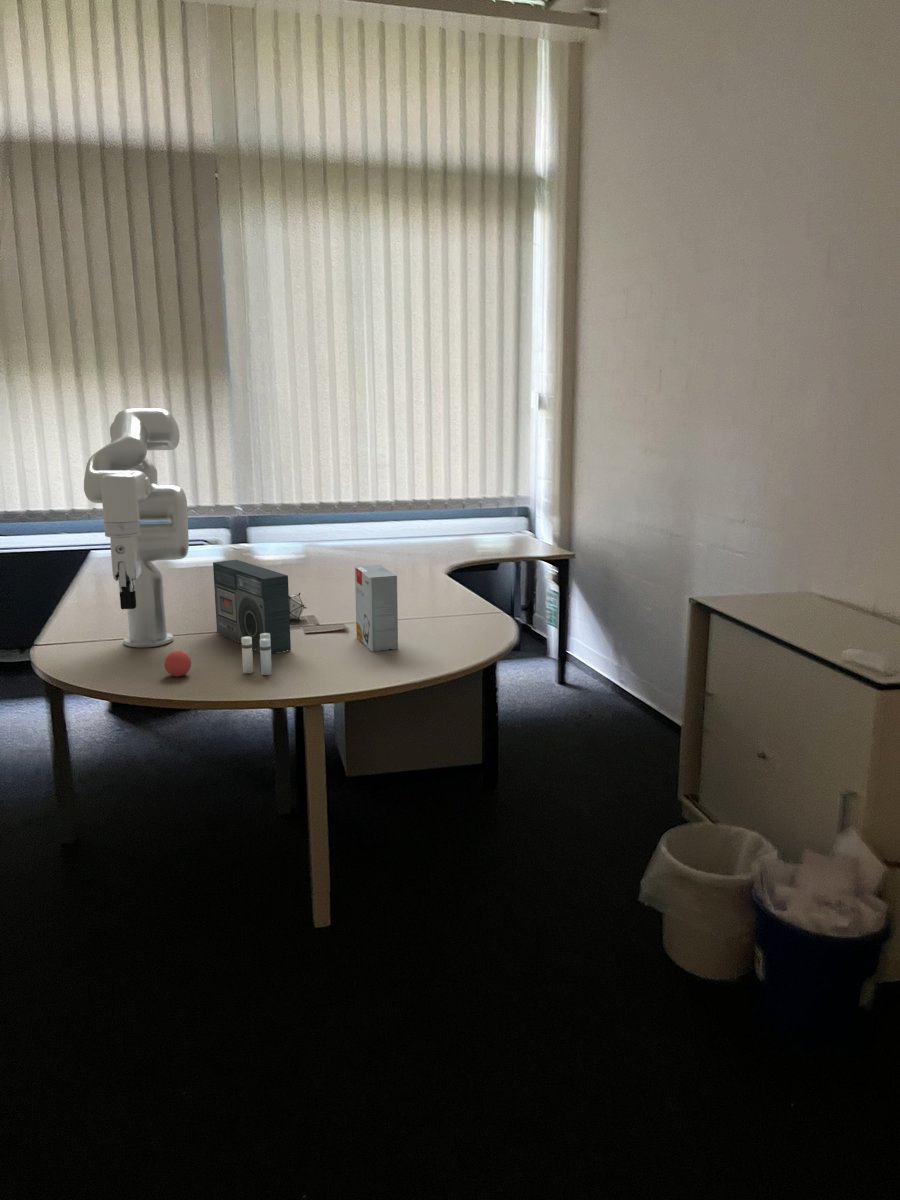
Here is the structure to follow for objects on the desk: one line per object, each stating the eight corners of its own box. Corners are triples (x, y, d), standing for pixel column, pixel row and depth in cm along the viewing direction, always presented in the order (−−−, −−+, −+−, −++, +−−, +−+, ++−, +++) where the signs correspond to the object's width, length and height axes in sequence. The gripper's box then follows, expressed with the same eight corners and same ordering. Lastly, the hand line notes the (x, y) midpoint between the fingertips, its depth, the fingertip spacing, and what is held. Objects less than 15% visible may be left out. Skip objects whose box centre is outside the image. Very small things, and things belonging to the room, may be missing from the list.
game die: (297, 630, 265) (314, 602, 267) (293, 627, 257) (311, 598, 258) (271, 615, 266) (289, 586, 267) (266, 611, 257) (285, 582, 259)
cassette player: (217, 632, 249) (212, 562, 245) (239, 628, 253) (236, 559, 249) (266, 655, 227) (263, 578, 223) (290, 650, 232) (287, 575, 227)
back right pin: (259, 673, 212) (257, 639, 210) (269, 672, 213) (267, 637, 211) (263, 676, 210) (261, 641, 208) (273, 674, 211) (271, 640, 209)
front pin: (241, 671, 214) (239, 637, 212) (251, 669, 215) (249, 635, 213) (244, 674, 211) (243, 639, 210) (254, 672, 213) (253, 638, 211)
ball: (162, 674, 211) (160, 650, 210) (187, 670, 214) (186, 646, 213) (169, 681, 206) (167, 656, 205) (195, 677, 209) (193, 652, 208)
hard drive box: (355, 637, 244) (354, 566, 240) (382, 634, 247) (381, 564, 242) (370, 652, 230) (369, 576, 226) (399, 649, 233) (398, 574, 228)
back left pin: (259, 667, 217) (258, 633, 215) (269, 665, 218) (268, 632, 216) (263, 670, 215) (262, 636, 213) (273, 668, 216) (271, 634, 214)
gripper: (135, 533, 194) (141, 615, 198) (144, 524, 208) (150, 600, 212) (98, 534, 193) (105, 616, 197) (110, 524, 207) (117, 601, 211)
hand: (128, 608), depth 204 cm, fingers closed
